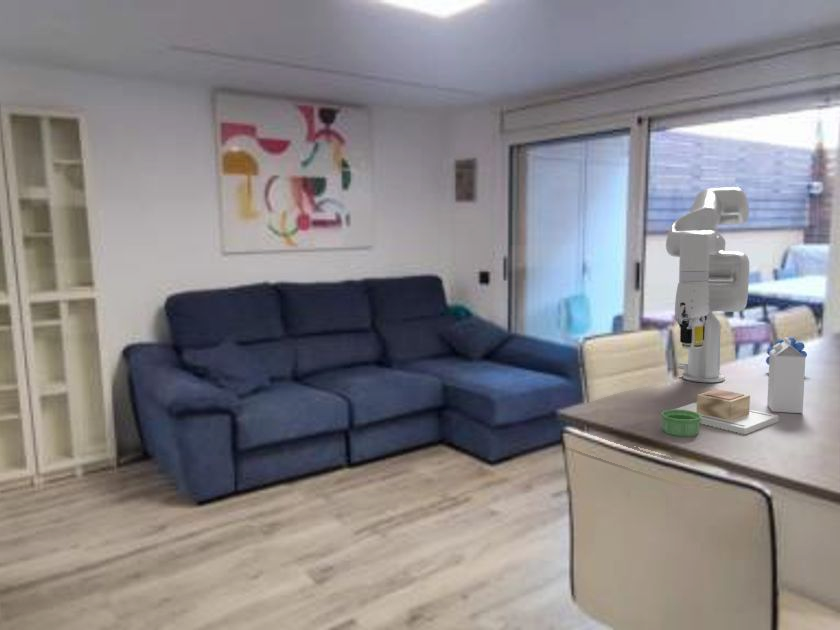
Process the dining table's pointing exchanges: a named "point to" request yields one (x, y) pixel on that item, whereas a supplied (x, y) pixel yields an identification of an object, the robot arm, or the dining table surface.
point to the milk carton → (786, 379)
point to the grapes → (797, 346)
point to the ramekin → (681, 422)
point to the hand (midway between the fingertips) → (692, 340)
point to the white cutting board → (736, 420)
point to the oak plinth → (723, 404)
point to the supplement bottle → (695, 335)
